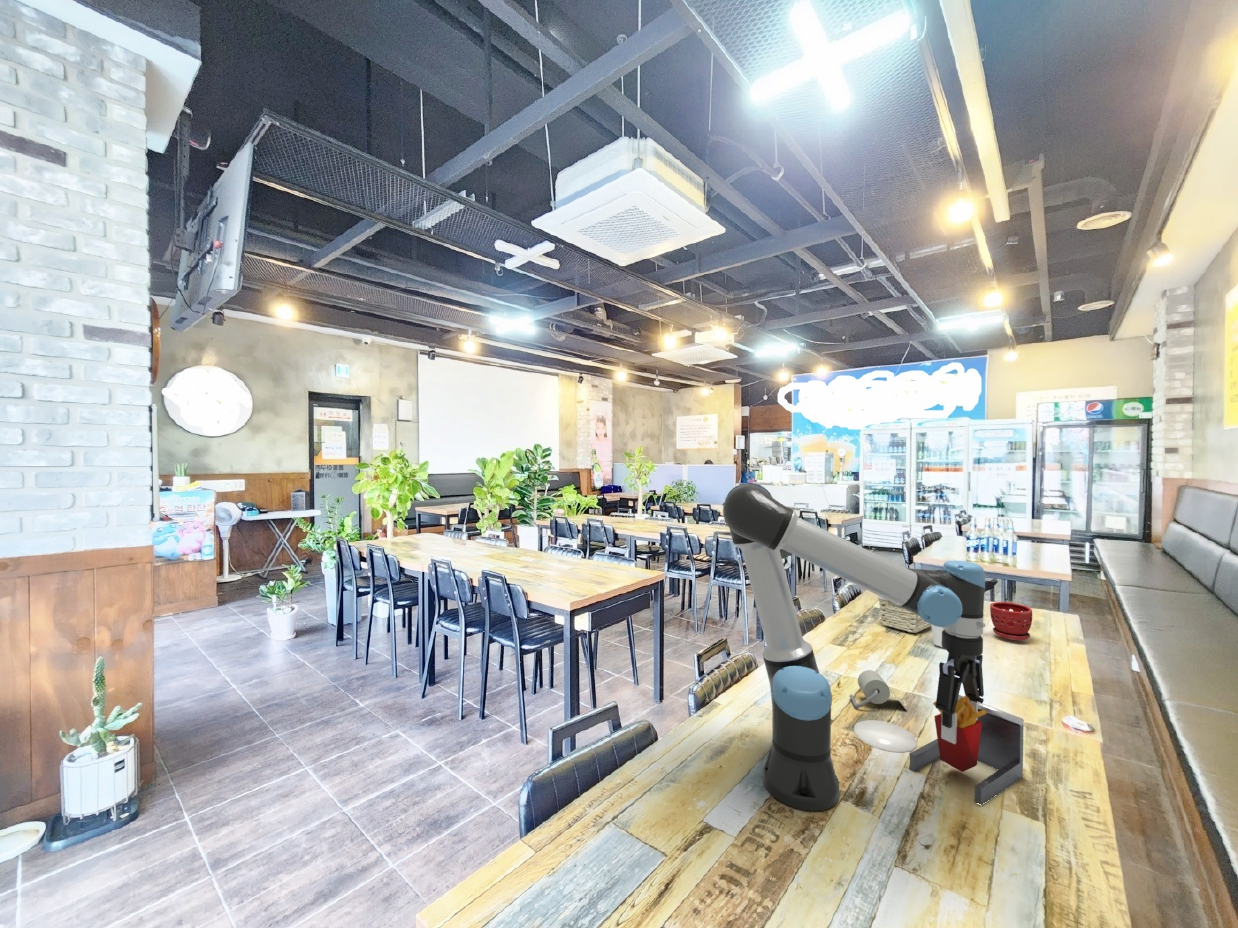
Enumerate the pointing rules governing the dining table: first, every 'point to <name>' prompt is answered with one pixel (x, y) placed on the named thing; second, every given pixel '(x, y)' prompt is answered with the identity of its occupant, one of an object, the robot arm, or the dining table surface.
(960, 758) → the french fries
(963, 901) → the dining table surface
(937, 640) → the foam cup
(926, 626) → the storage basket
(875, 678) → the toilet paper roll
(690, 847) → the dining table surface
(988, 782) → the gray bracket
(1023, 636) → the plant pot
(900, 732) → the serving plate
